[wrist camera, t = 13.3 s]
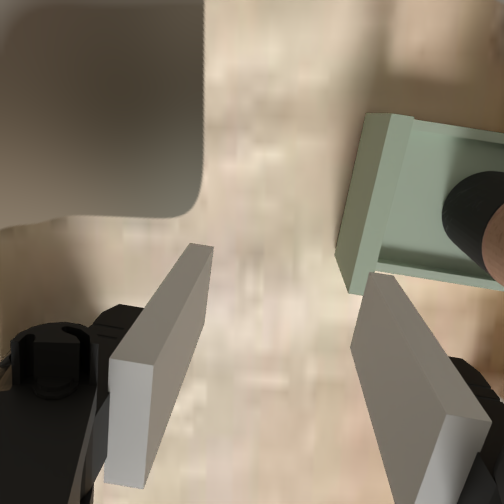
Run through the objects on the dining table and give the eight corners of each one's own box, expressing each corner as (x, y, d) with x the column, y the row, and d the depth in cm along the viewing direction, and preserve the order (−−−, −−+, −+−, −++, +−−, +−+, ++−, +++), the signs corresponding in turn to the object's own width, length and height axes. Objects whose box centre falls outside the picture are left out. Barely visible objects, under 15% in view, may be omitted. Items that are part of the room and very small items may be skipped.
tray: (334, 255, 40) (348, 293, 32) (365, 112, 36) (391, 113, 28) (528, 286, 40) (594, 333, 32) (582, 146, 36) (676, 157, 27)
